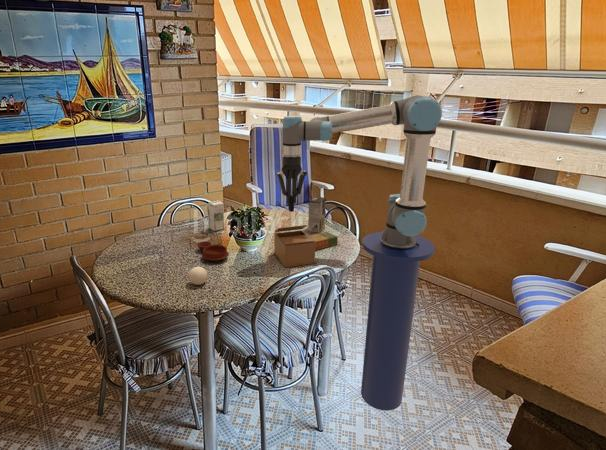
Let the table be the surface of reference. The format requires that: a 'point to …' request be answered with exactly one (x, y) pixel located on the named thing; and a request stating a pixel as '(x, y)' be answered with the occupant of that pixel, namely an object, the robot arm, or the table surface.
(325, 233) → the carton
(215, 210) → the syrup box
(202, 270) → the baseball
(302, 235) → the box
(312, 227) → the coffee box
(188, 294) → the table surface
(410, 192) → the robot arm
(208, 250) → the pottery
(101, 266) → the table surface
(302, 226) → the flap
